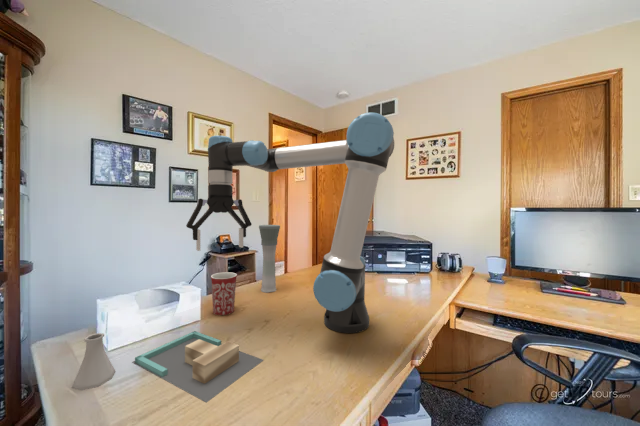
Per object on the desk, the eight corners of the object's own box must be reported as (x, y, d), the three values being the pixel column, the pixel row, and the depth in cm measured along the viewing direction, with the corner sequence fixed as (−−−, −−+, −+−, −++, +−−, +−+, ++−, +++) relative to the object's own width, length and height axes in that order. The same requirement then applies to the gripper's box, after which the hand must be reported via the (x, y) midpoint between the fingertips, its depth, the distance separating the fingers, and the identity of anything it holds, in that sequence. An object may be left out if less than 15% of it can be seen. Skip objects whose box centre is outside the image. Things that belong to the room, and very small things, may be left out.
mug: (236, 315, 96) (237, 277, 96) (209, 317, 94) (209, 279, 93) (236, 302, 108) (236, 269, 108) (212, 304, 106) (212, 270, 105)
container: (262, 286, 130) (263, 224, 130) (281, 287, 129) (282, 225, 128) (255, 292, 121) (255, 225, 120) (275, 294, 120) (276, 226, 119)
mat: (263, 361, 68) (263, 355, 68) (206, 404, 53) (206, 396, 53) (193, 335, 81) (193, 329, 81) (131, 363, 66) (131, 357, 66)
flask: (89, 371, 63) (89, 329, 62) (122, 370, 63) (122, 328, 63) (62, 393, 56) (62, 345, 55) (100, 391, 56) (100, 344, 56)
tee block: (238, 361, 67) (239, 345, 67) (204, 383, 58) (204, 365, 58) (208, 349, 73) (209, 334, 72) (173, 368, 64) (173, 351, 64)
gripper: (253, 186, 99) (253, 244, 100) (176, 183, 86) (177, 250, 86) (260, 185, 93) (260, 247, 93) (179, 181, 79) (179, 253, 80)
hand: (220, 248), depth 90 cm, fingers open, 13 cm apart
